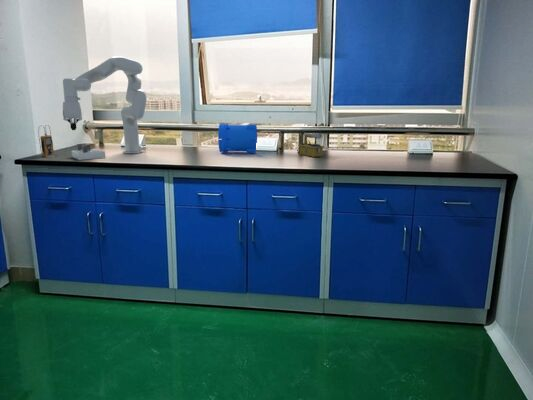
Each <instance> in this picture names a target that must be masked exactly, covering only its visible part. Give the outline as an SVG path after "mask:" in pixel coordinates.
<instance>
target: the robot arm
mask: <svg viewBox="0 0 533 400" xmlns="http://www.w3.org/2000/svg"><path fill="white" fill-rule="evenodd" d="M143 68H144V67H143V65H142V63H141V62H139V61H137V60H134V59H131V58H127V57H124V56H121V55H120V56H118V55H117V56H112V57H110V58H107V59H106V60H105V61H103V62H102V63H100V64H98V65H97V66H95V67H94V68H91V69H89V70H87V71H86V72H84V73H82V74H80V75H79V76H77V77H76V78H63V79H62V85H63V86H62V87H63V98H64V101H63V102H62V116H63V119H62V120H63V121H66V122H68V123H69V125H70V129H71V130H72V131H76V130H77V123H79V121H82V120H83V113H82V107H81V102H80V100H81V98H80V97H79V96H78V92H87V91H89V90H91V87H92V84H94V83H97V82H100V81H103V80H105V79H107V78H108V77H110V76H112V74H114V73H115V72H117V71H122V72H123V73H124V74H125V75H126V78H127V80H128V82H127V89H126V94H125V101H126V102H127V103H128V104H131V105H125V106H123V107H122V108H121V111H120V115H121V120H122V126H123V138H124V139H123V140H124V141H123V142H124V150H123V151H122V153H123V154H139V153H140V154H141V153H142V152H143V150H146V149H147V146H146V145H144V146H142V145H140V139H139V138H140V137H139V125H138V121H140V120H142V119H143V117H144V115H145V109H146V105H147V94H146V92H145V91H143V90H142V79H141V76H140V74H141V73H142V72H143V71H144V70H143Z"/></svg>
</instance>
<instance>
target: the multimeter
mask: <svg viewBox="0 0 533 400" xmlns="http://www.w3.org/2000/svg"><path fill="white" fill-rule="evenodd" d="M40 127H41V125H39V127H38V128H40ZM48 127H49V129H51V127H50V126H48ZM43 129H44V131H46V130H47V128H46V126H44V127H43ZM49 133H50V135H48V134H47V132H44V135H41V136H39V138H38V141H39V142H38V143H40V145H39V147H40V148H39V149H40V150H41V151H40V152H41V153H40V154H41V157H42V158H45V159H46V158H47V157H48V158H49V157H50V158H53V157H58V156H59V154H56V153H55V151H54V144H53V143H54V142H53V137H52V135H51V134H52V133H51V131H49ZM38 134H40V129H38Z"/></svg>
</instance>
